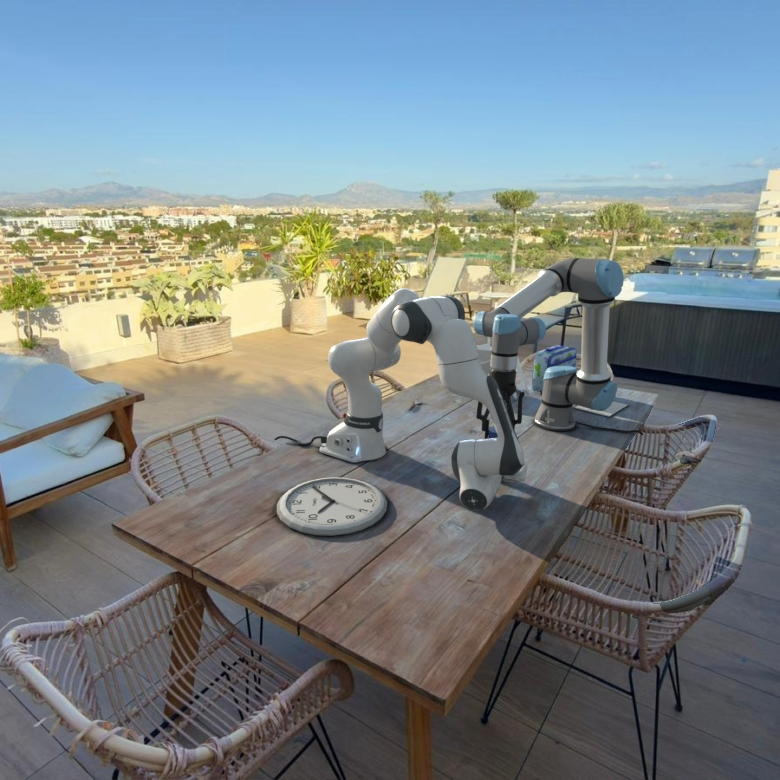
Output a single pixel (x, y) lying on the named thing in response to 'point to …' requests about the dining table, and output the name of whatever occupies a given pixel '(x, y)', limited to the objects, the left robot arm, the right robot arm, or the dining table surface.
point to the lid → (492, 432)
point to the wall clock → (331, 506)
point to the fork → (415, 403)
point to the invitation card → (609, 411)
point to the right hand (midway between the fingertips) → (496, 442)
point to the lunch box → (551, 363)
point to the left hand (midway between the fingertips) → (496, 456)
